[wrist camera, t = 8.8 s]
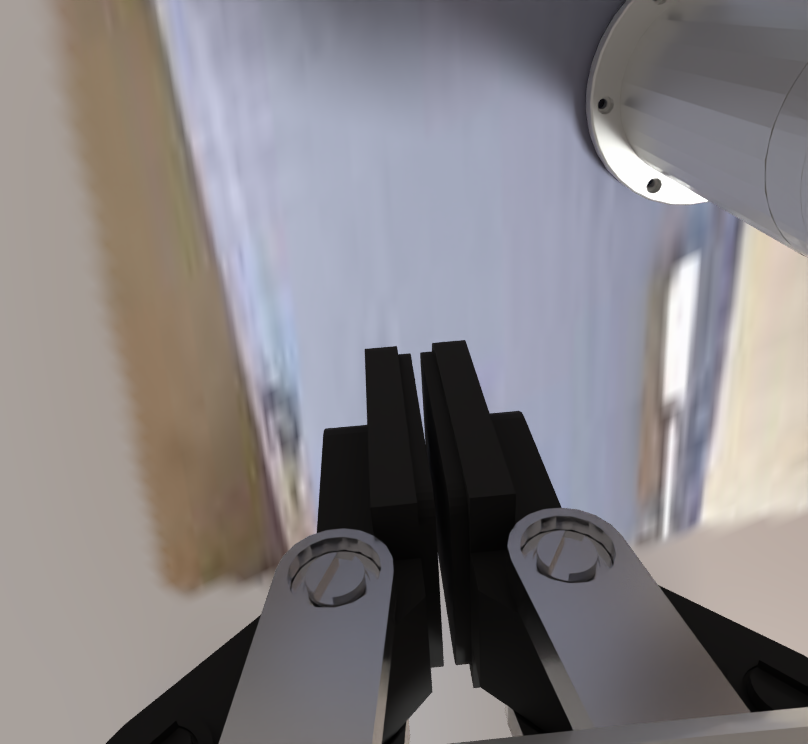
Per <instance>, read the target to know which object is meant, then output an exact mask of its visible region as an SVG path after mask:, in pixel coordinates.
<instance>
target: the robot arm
mask: <svg viewBox="0 0 808 744" xmlns="http://www.w3.org/2000/svg"><path fill="white" fill-rule="evenodd" d="M601 99H604V101H605V103H604V106H603V107H601V108H598V102H599V101H600V100H601ZM586 115H587V121H588V128H589V134H590V136H591V139H592V142H593V145H594V147H595V150H596V153H597V154H598V156H599V158H600V159H601V161H602V162H603V164H604V165H605V167H606V169H607V170H608V171H609V172H610V173H611V174H612V175H613V176H614V177H615V178H616V179H617V180H618V181H619V182H620V183H621V184H623V185H624V186H626V187H627V188H629V189H630V190H631V191H633V192H634V193H636V194H638V195H640V196H642V197H644V198H646V199H648V200H652V201H656V202H660V203H665V204H669V205H693V204H699V203H705V202H711V203H713V204H715V205H716V206H718V207H720V208H721V209H723V210H725V211H727V212H728V213H730V214H732V215H734V216H735V217H737V218H739V219H740V220H742V221H744V222H746V223H747V224H749V225H751V226H753V227H754V228H756V229H758V230H760V231H761V232H763V233H765V234H766V235H768V236H770V237H772V238H773V239H775V240H777V241H779V242H780V243H782V244H784V245H785V246H787V247H789V248H791V249H792V250H794V251H796V252H798V253H800V254H801V255H803V256H806V257H808V0H654V1H653V0H626V2H625V3H624V4H623V5H622V7H621V8H620V9H619V10H618V12H617V13H616V14H615V15H614V17H613V19H612V20H611V22H610V24H609V26H608V27H607V29H606V31H605V33H604V34H603V36H602V38H601V40H600V42H599V45H598V48H597V50H596V53H595V56H594V58H593V61H592V64H591V69H590V74H589V78H588V83H587V91H586ZM651 179H652V183H651V184H650V185H649V186H647V183H648V182H649V181H650V180H651ZM420 359H421V376H422V393H423V410H424V426H425V439H424V433H423V427H422V421H421V414H420V408H419V402H418V396H417V390H416V384H415V378H414V372H413V366H412V360H411V354H399V355H398V350H397V346H394V347H383V348H371V349H365V370H366V398H367V425H361V426H350V427H339V428H328V429H325V430H324V434H323V448H322V463H321V478H320V493H319V508H318V524H317V533H316V534H313V535H310V536H308V537H307V538H305V539H303V540H301V541H300V542H298V543H296V544H295V545H294V546H293V547H292V548H291V549H290V550H289V551H288V552H287V553H286V554H285V555H284V556H283V557H282V559H281V561H280V563H279V565H278V567H277V568H276V571H275V574H274V577H273V580H272V583H271V586H270V589H269V592H268V595H267V598H266V601H265V604H264V608H263V611H262V614H261V615H260V616H259V617H258V618H256V619H255V620H254V621H253V622H251V623H250V624H249V625H248V626H246V627H245V628H244V629H243V630H241V631H240V632H239V633H238V634H237V635H235V636H234V637H233V638H231V639H230V640H229V641H228V642H227V643H225V644H224V645H223V646H222V647H220V648H219V649H218V650H217V651H215V652H214V653H213V654H212V655H210V656H209V657H208V658H207V659H206V660H204V661H203V662H202V663H200V664H199V665H198V666H197V667H196V668H194V669H193V670H192V671H191V672H189V673H188V674H187V675H186V676H184V677H183V678H182V679H181V680H180V681H178V682H177V683H176V684H175V685H174V686H172V687H171V688H170V689H168V690H167V691H166V692H165V693H163V694H162V695H161V696H160V697H159V698H157V699H156V700H155V701H153V702H152V703H151V704H150V705H148V706H147V707H146V708H145V709H143V710H142V711H141V712H140V713H139V714H137V715H136V716H135V717H134V718H132V719H131V720H130V721H129V722H127V723H126V724H125V725H124V726H123V727H122V728H121V729H120V730H119V731H118V732H117V733H116V734H115V735H114V736H113V737H112V738H111V739H110V740H109V741H108V742H107V743H106V744H409V740H410V730H409V718H410V716H411V715H412V714H413V713H414V712H415V711H416V710H417V708H418V707H419V706H420V705H421V704H422V703H423V702H424V701H425V699H426V698H427V697H428V696H429V695H430V694H431V693H432V680H431V668H432V667H441V666H444V662H443V642H442V623H441V605H440V587H439V568H438V557H439V563H440V570H441V576H442V583H443V589H444V596H445V602H446V608H447V615H448V621H449V628H450V634H451V641H452V647H453V654H454V659H455V664H456V665H462V664H470V671H471V676H472V682H473V687H474V688H479V687H481V688H482V689H484V690H485V691H487V692H488V693H490V694H491V695H493V696H494V697H496V698H497V699H498V700H500V701H501V702H503V703H504V704H505V713H506V718H507V722H508V726H509V728H510V731H511V734H512V736H513V737H508V738H499V739H489V740H480V741H470V742H461V743H452V744H808V658H807V657H806V656H804V655H802V654H800V653H798V652H796V651H794V650H792V649H790V648H788V647H786V646H783V645H781V644H779V643H777V642H775V641H773V640H771V639H769V638H767V637H765V636H763V635H761V634H759V633H756V632H754V631H752V630H750V629H748V628H746V627H744V626H742V625H740V624H738V623H736V622H733V621H732V620H730V619H727V618H725V617H723V616H721V615H719V614H717V613H715V612H713V611H711V610H709V609H707V608H704V607H703V606H701V605H698V604H696V603H694V602H692V601H690V600H688V599H686V598H684V597H682V596H680V595H678V594H676V593H674V592H671V591H669V590H667V589H665V588H663V587H661V586H659V585H658V584H657V583H656V582H655V580H654V579H653V578H652V576H651V575H650V573H649V572H648V571H647V569H646V568H645V567H644V565H643V564H642V562H641V561H640V560H639V558H638V557H637V556H636V554H635V553H634V551H633V550H632V549H631V547H630V546H629V545H628V543H627V542H626V540H625V539H624V538H623V536H622V535H621V534H620V533H619V532H618V531H617V530H616V529H615V528H614V527H613V526H612V525H611V524H609V523H608V522H606V521H604V520H603V519H601V518H599V517H598V516H596V515H593V514H590V513H587V512H584V511H581V510H577V509H568V508H561V505H560V503H559V501H558V498H557V496H556V493H555V491H554V488H553V486H552V484H551V481H550V479H549V476H548V474H547V471H546V469H545V466H544V464H543V462H542V459H541V457H540V454H539V452H538V449H537V447H536V445H535V442H534V440H533V437H532V435H531V432H530V430H529V428H528V425H527V423H526V420H525V418H524V416H523V414H522V412H520V411H513V412H502V413H491V414H489V411H488V408H487V405H486V402H485V399H484V396H483V393H482V390H481V387H480V383H479V380H478V377H477V374H476V371H475V368H474V365H473V362H472V359H471V356H470V353H469V350H468V347H467V344H466V342H465V340H461V341H450V342H439V343H432V352H422V353H420ZM425 443H426V445H425Z"/></svg>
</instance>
